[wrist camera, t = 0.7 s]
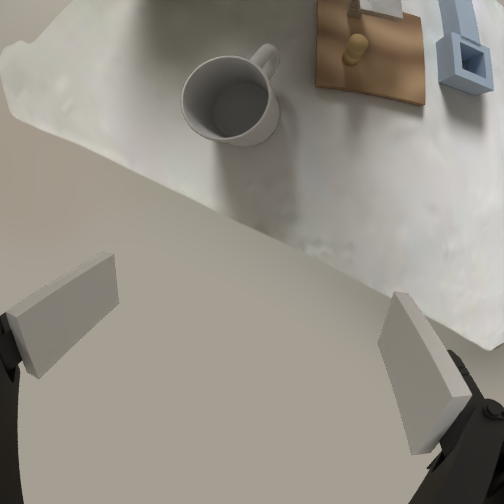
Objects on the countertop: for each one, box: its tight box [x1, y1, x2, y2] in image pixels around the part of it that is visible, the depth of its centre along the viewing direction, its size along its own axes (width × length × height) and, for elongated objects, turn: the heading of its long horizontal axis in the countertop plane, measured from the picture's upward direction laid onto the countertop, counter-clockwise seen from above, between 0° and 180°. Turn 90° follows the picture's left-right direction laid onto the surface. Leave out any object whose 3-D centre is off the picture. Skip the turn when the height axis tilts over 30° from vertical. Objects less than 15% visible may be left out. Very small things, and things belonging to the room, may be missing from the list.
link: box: [436, 0, 494, 95], centre depth 22 cm, size 18×6×5 cm, turn 175°
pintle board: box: [315, 0, 425, 106], centre depth 25 cm, size 14×14×8 cm
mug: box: [181, 44, 280, 147], centre depth 28 cm, size 12×8×11 cm
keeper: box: [346, 0, 403, 23], centre depth 23 cm, size 5×5×7 cm
